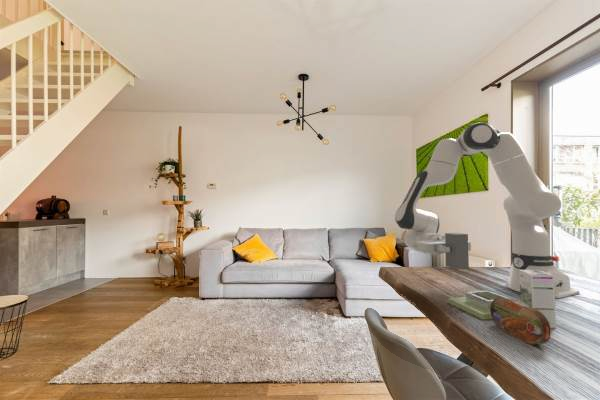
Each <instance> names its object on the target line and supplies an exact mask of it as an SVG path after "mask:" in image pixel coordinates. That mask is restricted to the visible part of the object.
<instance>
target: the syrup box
mask: <svg viewBox="0 0 600 400" xmlns="http://www.w3.org/2000/svg"><path fill="white" fill-rule="evenodd" d="M519 275H520V292H519V296H520V300H519V301H520V302H519V303H521V304H524V305H526V306H529V307H532V308H534V309H537V310H538V311H540V312H541V313H542V314H543V315H544V316H545V317H546V318H547V320H548V322H549V324H550V329H557V314H556V298H555V290H554V275H551V274H549V273H546V272H543V271H540V270H519Z"/></svg>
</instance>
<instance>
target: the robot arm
mask: <svg viewBox="0 0 600 400" xmlns="http://www.w3.org/2000/svg"><path fill="white" fill-rule="evenodd" d="M481 152H482V153H484V154H485V155H487V157H488V158H489V159H490V162H491V165H492V167H493V170H494V172H495V173H496V176H497V179H498V180H499V183H500V184H501V185H502V186H504V187H505V189H506V190H507V191H508V192H509V195H508V196H507V197H506V198H505V199H504V201H503V209H504V211H505V212H506V214H507V219H508V223H509V226H510V231H511V245H512V252H511V255H510V258H511V262H512V263H511V265H510V269H509V279H508V280H507V285H508V286H507V287H508V288H509V289H511V290H513V291H515V292H519V293H520V275H519V270H540V271H543V272H546V273H549V274H551V275H554V290H555V299H561V298H565V297H570V296H574V295H578V294H580V290H579V289H576V288H575V287H571V281H570V278H569V277H570V276H569V275H567V274H565V273H564V272H563V271H562V270H561V269H559V268H558V267H557V266H555V263H554V262H556V263H557V262H558V263H559V256H556V255H555V256H554V255H551V254H550V234H549V233H548V231H547V230H546V228H545V225H544V223H543V220H544V219H548V218H551V217H554V216H556V215H557V214H558V213H559V212H560V210H561V208H562V202H561V199H560V197H559V196H558V195H556V194H555V193H554V192H552V191H551V190H550V189H549V188H548V187H547V185H545V184H544V182H543V181H542V179H540V177H539V176H538V175H537V174H536V172H535V171H534V169H533V166H532V164H531V162H530V160H529V158H528V156H527V153H526V152H525V150H524V149H523V147H522V145H521V143H520V141H519V140H518V138H517V137H515V135H514V134H512V133H510V132H500V131H499V130H497V129H496V128H495V127H494V126H493V125H491V124H490V123H487V122H483V121H482V122H481V121H480V122H476V123H473V124H470V125H469V126H467V128H465V129H464V130H463V131H462V132H461V133H460V134H459V136H458V137H457V138H451V137H450V138H443V139H441V140H440V141H438V142H437V144H436V146H435V148H434V150H433V152H432V153H431V157H430V160H429V162H428V165H427V166H426V168H425V169H424V170H422V171H420V172H418V173H417V175H416V177H415V178H414V180H413V181H412V183H411V185H410V187H409V190H408V192H407V194H406V195H405V197H404V200H403V201H402V203H401V205H400V206H399V208H397V210H396V212H395V215H394V219H395V220H394V221H395V222H396V225H397V226H398V227H399V228H400V229H403V230H408V231H406V232H405V233H404V235H403V242H404V244H405V246H406V247H408V248H409V249H411V250H413V251H414V252H415V251H416V252H419V253H422V254H423V253H424V254H426V255H431V256H434V257H435V256H438V255H442V254H446V252H452V247H449V246H448V247H447V246H445V234H440V233H439V230H440V219H439V216H438V215H437V214H436V212H435V213H434V212H431V211H427V210H424V209H420V208H416V206H417V204H418V202H419V200H420V199H421V196H422V195H423V192H424V191H425V190H426V189H427V188H429V187H432V186H441V185H445V184H447V183H449V182H450V181H452V180H453V179H454V177H455V175H456V173H457V170H458V167H459V164H460V161H461V159H462V157H471V156H474V155H477V154H479V153H481ZM471 250H472V244H471V241H470V240H468V252H471Z"/></svg>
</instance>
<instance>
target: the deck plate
mask: <svg viewBox="0 0 600 400" xmlns="http://www.w3.org/2000/svg"><path fill="white" fill-rule="evenodd" d="M496 298H506V299H511V300H513V299H512V298H509V297H507V296H505V295H501V294H499V293H495V292H493V291H490V290H477V291H466V292H465V296H460V297H459V296H457V297H449V298H448V299H447V303H448V304H450V305H452V306H454V307H456V308H459V309H460V310H463V311H465V312H466V313H469V314H471V315H472V316H475V317H477V318H479V319H481V320H483V321H484V320H493V319H492V316H491V312H490V307H491V303H492V301H493V300H494V299H496Z"/></svg>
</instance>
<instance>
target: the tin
mask: <svg viewBox="0 0 600 400" xmlns="http://www.w3.org/2000/svg"><path fill="white" fill-rule="evenodd" d="M511 299H512V298H510V299H506V298H496V299H494V300H493V301H492V303H491V307H490V312H491V316H492V319H491V320H492V321H493V322H494V324H495V325H496V326H497V328H499V329H500V330H502V331H503V332H505V333H507V334H509V335H511V336H512V337H515V338H517V339H518V340H520V341H521V342H524V343H525V344H529V345H543V344H546V343H548V342H549V341H550V338H551V333H552V332H551V331H552V330H551V328H550V324H549V322H548V320H547V318H546V317H545V316H544V315H543V314H542V313H541V312H540V311H538V310H537V309H534V308H532V307H529V306H526V305H524V304H521V302H518V301H516V300H513V299H512V300H511Z"/></svg>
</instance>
